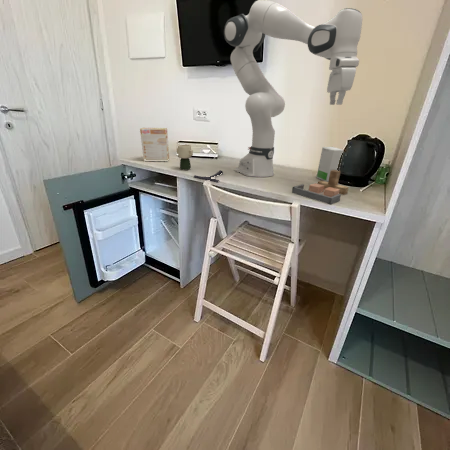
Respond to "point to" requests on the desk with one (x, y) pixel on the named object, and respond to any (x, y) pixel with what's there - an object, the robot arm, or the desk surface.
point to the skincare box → (328, 162)
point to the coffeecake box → (155, 143)
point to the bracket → (209, 177)
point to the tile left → (316, 188)
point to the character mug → (184, 156)
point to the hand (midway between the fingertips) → (335, 104)
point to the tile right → (331, 191)
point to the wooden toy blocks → (334, 182)
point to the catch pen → (315, 195)
